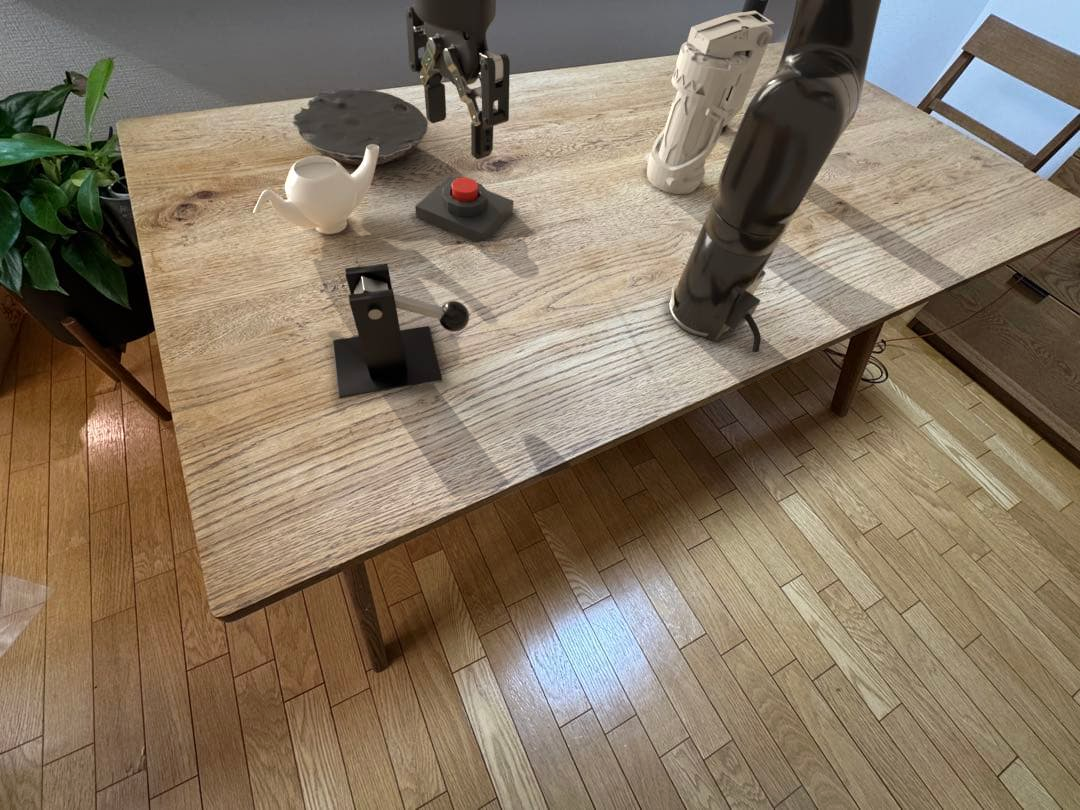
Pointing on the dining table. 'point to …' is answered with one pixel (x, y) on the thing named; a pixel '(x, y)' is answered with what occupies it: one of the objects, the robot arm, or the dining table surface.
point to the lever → (422, 306)
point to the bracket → (381, 342)
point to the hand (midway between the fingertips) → (458, 137)
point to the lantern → (706, 96)
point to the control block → (465, 212)
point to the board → (361, 125)
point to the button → (465, 189)
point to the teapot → (322, 192)
